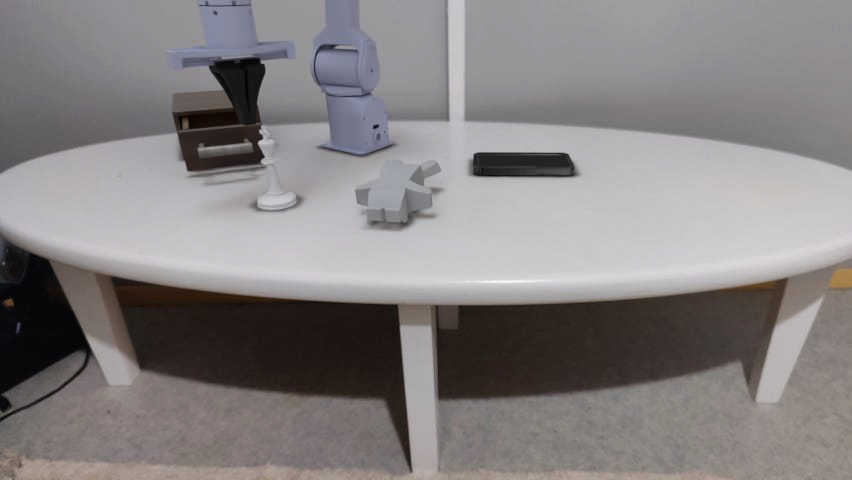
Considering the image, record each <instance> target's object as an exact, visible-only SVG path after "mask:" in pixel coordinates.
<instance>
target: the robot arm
mask: <svg viewBox="0 0 852 480" xmlns="http://www.w3.org/2000/svg"><path fill="white" fill-rule="evenodd" d="M196 2H197V5H198V10H199V15H200V21H201V26H202V30H203V35H204V39H205V44H206V45H198V46H191V47H183V48H173V49H165V50H164V52H165V55H166V56H165V57H166V60H167V63H168V67H169V69H172V70H174V71H176V70H178V71H179V70H184V69H189V68H197V67H208V69H209V71H210V73H211V74H212V76H213V77H214V78H215V79H216V81H217V82H218V84H219V85H220V87H221V88H222V90H224V91H225V93H226V94H227V96H228V98H229V100H230V102H231V104H232V106H233V108H234V110H235V112H236V115H237V117H238V120H239V123H240V124H242V125H245V126H248V125H254V124H256V109H257V105H258V100H259V94H260V90H261V87H262V83H263V80H264V78H265V76H266V64H264V63H263V62H264V61H273V60H283V59H287V60H292V59H293V60H294V59H297V53H296V47H295V42H294V41H289V40H281V41H259V40H258V33H257V27H256V23H255V16H254V10H253V5H252V0H196ZM324 13H325V14H324V16H325V25H324V27H323V28H322V30H320V31H319V32H318V33H317V34H316V35H315V36H314V37H313V39H312V45H313V46H312V54H311V58H310V62H309V68H310V69H309V70H310V74H311V77H312V79H313V82H314V83H315V85H316V86H318V87H319V88H320V92H321V93H324V94H325V102H326V110H327V118H328V125H329V126H328V127H329V135H330V140H328V141H324V142H321V143H320V147H321V148H326V149H330V150H335V151H340V152H344V153H348V154H354V155H359V156H364V155H367V154H369V153H373V152H374V151H377V150H381V149H382V148H386V147H389V146H391V145H393V141H392V140H390V138H389V136H390V135H389V123H388V111H387V106H386V104H385V101H384V100H383V99H382V98H381V97H379V96H376V95H375V94H373V93H372V92H374V91H375V89H376V87H377V86H378V84H379V81H380V77H381V65H380V61H379V57H378V49H377V48H378V47H377V42H376V41H375V40H374V39H373V38H372V37H371V36H370V35H368V33H367V32H365V31H364V30H363V29H362V27H361V26H360V25H361V21H360V0H324ZM339 46H343V47H344V46H346V47H353V48H354V49H353V48H352V49H351V48H336V47H339ZM225 57H226V58H225ZM227 57H229V58H227ZM230 57H232V58H230ZM262 61H263V62H262Z"/></svg>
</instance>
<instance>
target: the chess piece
mask: <svg viewBox="0 0 852 480" xmlns="http://www.w3.org/2000/svg"><path fill="white" fill-rule="evenodd" d="M261 129H262V130H259V133H260V134H262V135H263V140H260V141H259V142H258V145H259V147H260V148H261V150H262V153H263V154H264V156H265V158H263V159H262V160H261V163H260V164H262V165H266V173H267V174H266V175H267V190H265V193H262V194H261V195H259V196H258V197H257V199H256V206H257V208H259V209H261V210H265V211H278V210H285V209H287V208H291V207H293V206H294V205H295V204H297V203H298V199H297V196H296V194H295V193H293V192H291V191H289V190H288V191H287V190H285V188H283V186H282V185H281V181H280V179H279V176H278V172H277V169H276V168H277V167H276V164H277V163H279V162H280V160H279V158H278V157H275V156H274V153H275V147H276V141H275V140H274V139H271V138H269V136H271V131H268V128H267V125H263V124H262V126H261Z"/></svg>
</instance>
